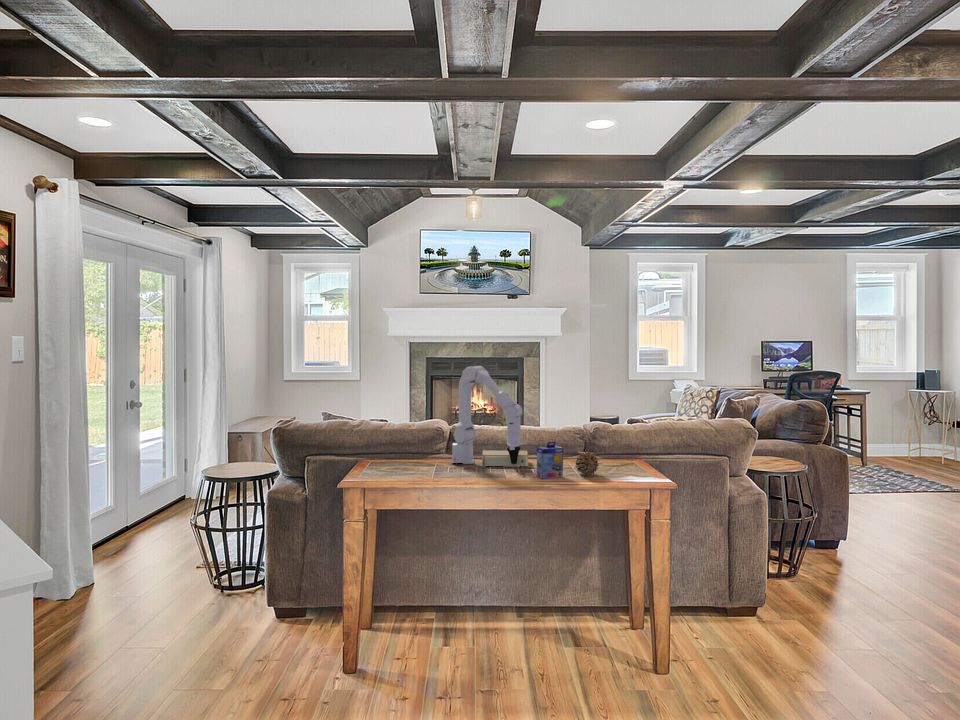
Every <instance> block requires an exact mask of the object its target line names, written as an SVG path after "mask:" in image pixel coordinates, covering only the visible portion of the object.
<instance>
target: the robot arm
mask: <svg viewBox="0 0 960 720" xmlns="http://www.w3.org/2000/svg"><path fill="white" fill-rule="evenodd" d="M458 381H459V382H458V422H457V424H456V425H455V431H454V434H453V439H454V440H455V442H453V443H452V445H451V446H452V448H451V450H452V452H451V454H452V455H451V460H452V461H451V462H452V463H463V464H462V465H474V463H475V459H474V440H475V439H476V436H477V434H476V431H475V425H474V422H472V386H473V385H475V384H476V383H480V384H483V385H484V386H485V387H486V388H487V389H488V390H489V391H490V392H491V393H492V394H493V395H494V399H495V400H494V401H496V403H497V404H498V405H499V406H500V407H501V408H502V410H503V411H504V415H505V417H506V420H507V421H506V422H507V423H506V425H507V428H506V429H507V430H506V431H507V432H506V435H507V437H506V438H507V440H506V441H507V442H506V445H507V446H508V447H507V448H506V451H508V452H509V455H510V459H511V464H516V463H517V458H518V454H519V451H521V448H522V447H521V446H522V445H524V442H521V440H522V439H521V436H522V435H521V433H522V431H521V427H522V426H521V416H522V415H523V412H524V410H523V408H522V405H521V404H518V403H517V402H516V401H514V399H512V398H511V396H510V393H509V392H507V391H503V390H501V389H500V387H499V386H498V384H496V382H495V381H494V379H493V378H492V377H491V375H490V373H489V371H487V370H486V368H485V367H484V366H482V365H476V366H466V367H465V368H464V369H463V370H462V374H461V376H460V379H459V380H458Z"/></svg>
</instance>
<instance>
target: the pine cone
mask: <svg viewBox="0 0 960 720" xmlns="http://www.w3.org/2000/svg"><path fill="white" fill-rule="evenodd" d="M575 459H576V460H575V461H574V465H575V468H576V469H577V472H579V473H581V475H584V476H585V474H586V475H587V476H590V475H592V474H593V475H594V474H595V473H596V472H597V470H599V468H598V467H599V466H600V463H599V458H597V455H596V454H594V453H593V452H588V451H584V452H583V451H581V453H579V456H577V457H576V458H575Z"/></svg>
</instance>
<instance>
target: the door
mask: <svg viewBox="0 0 960 720" xmlns="http://www.w3.org/2000/svg"><path fill="white" fill-rule="evenodd" d="M486 466H526V456H518V458H517V463H516V464H511V459H510V456H484V457H483V466H482V467H486Z"/></svg>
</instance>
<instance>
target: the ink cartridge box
mask: <svg viewBox="0 0 960 720" xmlns="http://www.w3.org/2000/svg"><path fill="white" fill-rule="evenodd" d="M563 467H564V447H562V446H560V445H556V441H549V442H547V443H546V446H545V445H544V446H543V445H542V446H537V447H536V477H538V478H539V479H542V480H544V479H557V478H556V477H559V478H563V476H564V475H563V474H564V468H563Z"/></svg>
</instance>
